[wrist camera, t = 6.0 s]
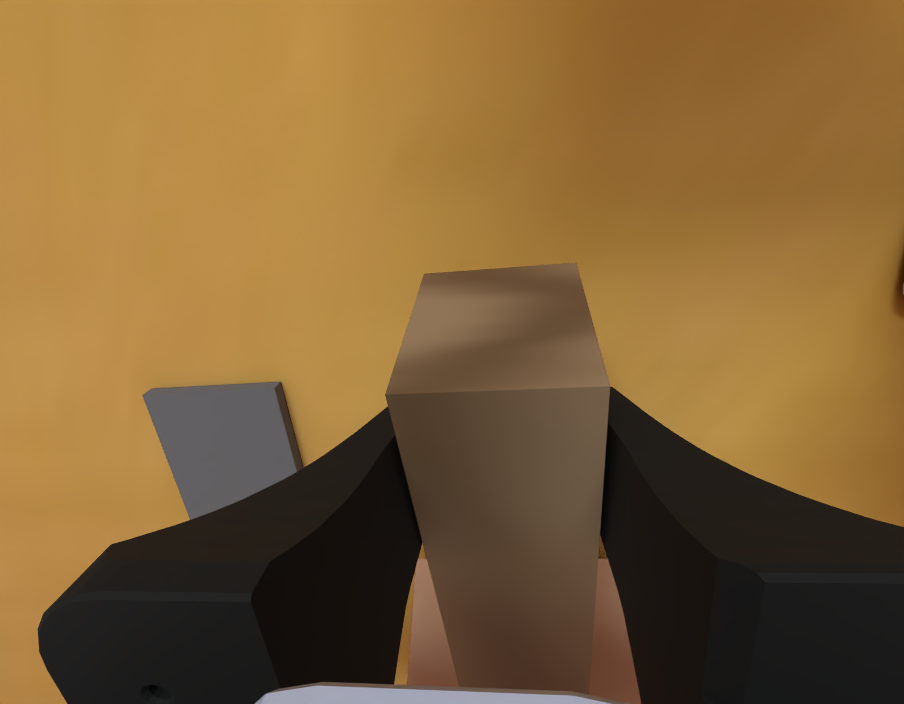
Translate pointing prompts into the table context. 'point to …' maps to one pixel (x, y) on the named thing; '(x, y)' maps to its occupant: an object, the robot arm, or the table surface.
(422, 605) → the tile
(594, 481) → the brown wooden plank
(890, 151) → the table surface
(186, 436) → the mat
